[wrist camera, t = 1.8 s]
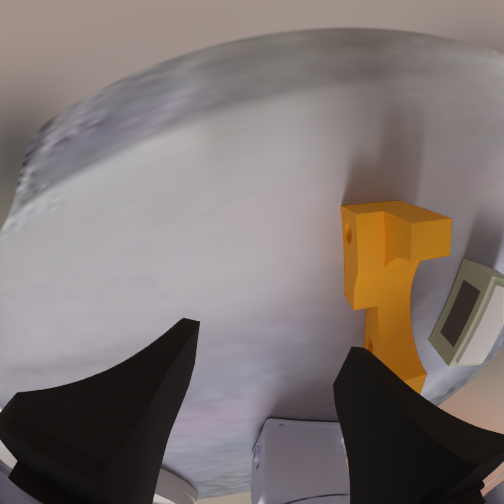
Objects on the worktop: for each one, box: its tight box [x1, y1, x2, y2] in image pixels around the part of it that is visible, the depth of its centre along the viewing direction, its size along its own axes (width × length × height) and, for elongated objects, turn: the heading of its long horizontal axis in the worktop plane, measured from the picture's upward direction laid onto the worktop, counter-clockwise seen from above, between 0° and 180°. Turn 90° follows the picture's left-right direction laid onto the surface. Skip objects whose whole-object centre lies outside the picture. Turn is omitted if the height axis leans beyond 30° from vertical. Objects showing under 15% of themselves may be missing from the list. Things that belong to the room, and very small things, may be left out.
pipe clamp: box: [341, 200, 452, 394], centre depth 16 cm, size 12×4×6 cm, turn 8°
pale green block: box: [428, 258, 504, 366], centre depth 17 cm, size 5×8×4 cm, turn 168°
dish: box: [153, 468, 197, 504], centre depth 29 cm, size 22×22×5 cm
